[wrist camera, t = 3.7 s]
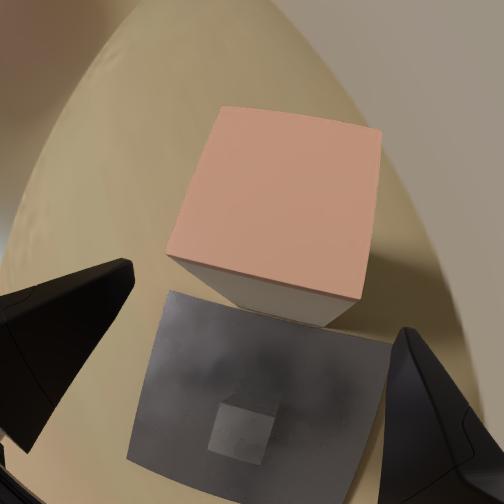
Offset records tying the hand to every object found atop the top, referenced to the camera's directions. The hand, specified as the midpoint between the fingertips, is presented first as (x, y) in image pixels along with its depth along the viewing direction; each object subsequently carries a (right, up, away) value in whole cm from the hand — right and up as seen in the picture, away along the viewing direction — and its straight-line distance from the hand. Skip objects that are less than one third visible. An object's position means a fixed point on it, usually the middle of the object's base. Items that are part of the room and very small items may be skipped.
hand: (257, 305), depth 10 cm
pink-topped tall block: (+2, 0, +11) cm, 11 cm away
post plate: (0, -9, +9) cm, 12 cm away
